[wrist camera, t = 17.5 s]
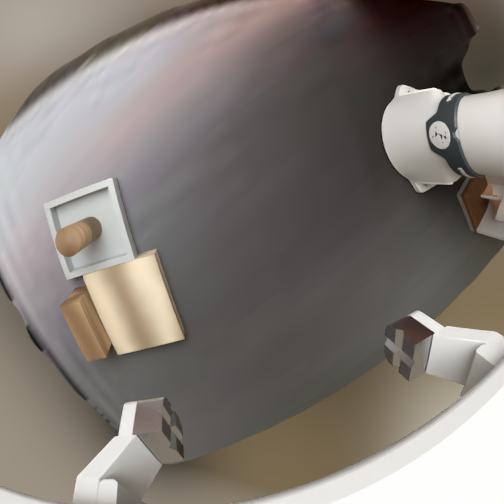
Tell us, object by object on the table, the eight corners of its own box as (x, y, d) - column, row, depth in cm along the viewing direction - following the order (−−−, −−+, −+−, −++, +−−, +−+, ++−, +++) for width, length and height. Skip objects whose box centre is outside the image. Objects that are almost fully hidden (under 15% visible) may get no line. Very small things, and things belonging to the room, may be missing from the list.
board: (156, 248, 34) (154, 254, 32) (184, 327, 38) (184, 338, 35) (89, 268, 33) (82, 275, 30) (121, 343, 36) (118, 354, 34)
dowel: (97, 213, 31) (74, 223, 23) (104, 236, 31) (84, 252, 24) (77, 221, 30) (51, 232, 23) (85, 243, 31) (61, 260, 23)
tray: (116, 177, 31) (112, 177, 28) (138, 254, 34) (135, 259, 31) (51, 202, 29) (43, 204, 27) (73, 273, 32) (67, 279, 30)
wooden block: (93, 283, 33) (79, 301, 27) (114, 333, 35) (106, 357, 30) (75, 288, 32) (59, 306, 27) (97, 337, 35) (87, 361, 29)
